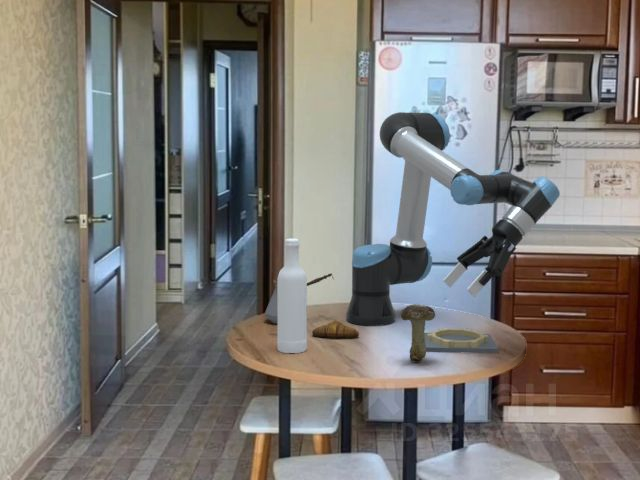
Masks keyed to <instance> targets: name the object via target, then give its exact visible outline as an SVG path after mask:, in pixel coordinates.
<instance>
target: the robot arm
mask: <svg viewBox="0 0 640 480" xmlns="http://www.w3.org/2000/svg"><path fill="white" fill-rule="evenodd" d="M450 135H451V134H450V129H449V124H447V123H446V120H445V119H444V118H443V117H442V116H441V115H439V114H437V113H431V112H403V111H402V112H395V113H393V114H389V115H388V116H387V117H386V118H385V119H384V120H383V121H382V123H381V125H380V129H379V140H380V143H381V145H382V146H383V148H384V149H386V151H387V152H389V153H390V154H391V155H392V156H394V157H396V158H399V159H400V158H403V160H404V166H403V176H402V184H401V191H400V198H399V200H400V201H399V207H398V214H397V223H396V232H395V235H394V236H393V237H391V238H390V240H389V244H385V243H384V244H383V243H376V244H375V243H374V244H367V245H366V244H365V245H362V246H359V247H357V248H355V249H354V251H353V253H352V261H351V265H352V270H351V271H352V276H351V277H352V278H351V279H352V281H351V282H352V284H351V286H352V289H351V295H352V296H351V298H350V301H349V303H348V307H347V310H346V317H345V318H346V320H345V321H346V322H348V323H351V324H354V325H360V326H372V327H373V326H374V327H375V326H385V325H390V324H393V323H394V322H395V321H396V313H395V311H394V310H395V309H394V307H393V304H392V301H391V300H392V299H391V296H390V295H391V294H390V291H391V288H390V287H391V286H393V285H394V286H395V285H400V284H402V285H403V284H413V283H416V282H422V281H423V280H424V279H426V278H427V276H429V274H430V272H431V269H432V268H433V267H432V265H433V257H432V256H431V255H432V253H431V250H430V249H429V248H428V244H427V242H426V241H425V239H424V233H425V232H424V231H425V225H426V224H425V223H426V217H427V212H428V211H427V210H428V202H429V195H430V190H431V189H430V186H431V180H432V179H434V181H437V182H438V183H439V184H441V185H442V186H444V187H445V188H447V189H448V190H449V192H450V196H451V197H452V200H453V202H455V203H457V204H458V205H463V206H464V205H465V206H474V205H484V204H502V203H503V204H508V205H510V207H509V209H508V210H507V211H506V212H505V213H504V214H503V215H502V217H501V219H499V220H498V221H497V222H496V224H495V225H494V226H492V228H491V232H492V236H491V237H490V238H488V236H486V235H484V236H482V237H481V238H480V240H479V241H477V242H476V243H475V244H474V245H472V246H471V247H469V248H468V249H467V250H465V251H464V252H462V253H461V254H460V255H458V257H457V258H456V260H457V264H456V265H455V266H454V267H453V268H452V269H451V271H450V272H449V273H448V274H447V275H446V276H445V277H444V278H443V280H442V281H443V282H444V283H445V285H447V286H448V287H449V288H452V287H453V285H455V283H457V281H458V280H459V279H460V278H461V277H462V276H463V274H464V273H465V272H466V271H468V267H469V266H472V265H473V264H475V263H476V262H478V261H480V260H482V259H483V258H488V257H489V259H488V263H487V266H486V267H485V268H484V269H483V270H482V271H481V272H480V274H479V275H478V276H477V277H476V278H475V279H474V280H473V281H472V282H471V283H470V285H468V286H467V288H466V291H467V292H468V293H469V294H470V295H471V296H473V297H474V298H475V297H476V296H477V295H478V294H479V293H480V292H481V291H482V290H483V288H484V287H486V285H487V284H488V283H489V282H490V280H491V279H493V278H495V277H496V276H497V277H500V276H502V274H503V273H504V270H505V268H506V266H507V264H508V262H509V260H510V258H511V256H512V254H513V253H514V252H515V250H516V249H517V248H516V247H517V246H518V244H519V243H520V242H521V241H523V237H526V235H527V234H528V233H530V232H531V231H532V229H533V228H534V226H535V225H536V224H538V223H537V222H539V220H540V219H541V218H543V216H544V215H545V214H546V213H547V212H548V211H549V210H550V209H551V208H552V207H553V205H554V204H555V202H557V200H558V199H559V198H560V196H561V195H560V194H561V193H560V190H559V188H558V186H557V185H556V184H555V182H553V181H552V180H551V179H549V178H547V177H544V176H539V177H537V178H536V179H534V180H533V182H531V181H529V180H525V179H523V178H522V177H519V176H517V175H515V174H513V173H511V172H510V171H505V170H502V169H497V170H494V171H493V172H491V173H490V174H482V175H481V174H478V173H477V172H474V171H473V170H471V169H470V168H468V167H467V166H466V165H464V164H462V163H461V162H459V160H456V159H455V158H453V157H451V155H449V154H447V153H445V152H444V150H446V148H447V147H448V146H449V143H450V140H451V139H450Z"/></svg>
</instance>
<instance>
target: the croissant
mask: <svg viewBox="0 0 640 480" xmlns="http://www.w3.org/2000/svg"><path fill="white" fill-rule="evenodd" d="M311 333H312V336H313V337H317V338H331V339H355V338H359V335H360V333H359V330H357V329H355V328H353V327H351V326H348V325H345V324H344V323H342V322H339V321H337V320H334V321H331V322H328V323H326V324H324V325H321V326H318V327H316V328H314V329H312V331H311Z"/></svg>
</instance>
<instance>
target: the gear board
mask: <svg viewBox="0 0 640 480" xmlns="http://www.w3.org/2000/svg"><path fill="white" fill-rule="evenodd" d="M424 333H425V343H426V353H461V352H478V353H477V354H499V352H500V351H499V350H500V349H499V347H498V345H497V343H496V342H495V340H494V338H493V337H492V335H491V333H481V332H478V331H476V330H473V329H469V328H465V329H464V328H437V330H435V331H433V332H424Z"/></svg>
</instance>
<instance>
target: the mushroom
mask: <svg viewBox="0 0 640 480" xmlns="http://www.w3.org/2000/svg"><path fill="white" fill-rule="evenodd" d="M400 318H401V319H402V320H403V321H410V325H411V347H410V349H409V359H410V361H411V362H413V363H420V362H421V361H422V360H423V359H424V358H425V357H426V355H427V352H426V343H425V333H426V332H425V329H426V321H427V322H429V321H432V320H434V319H435V318H436V312H435V310H434V309H433V308H432V307H431V306H429V305H425V304H417V303H416V304H415V303H414V304H410V305H407V306H406V307H404V308H402V310H401V312H400Z"/></svg>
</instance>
